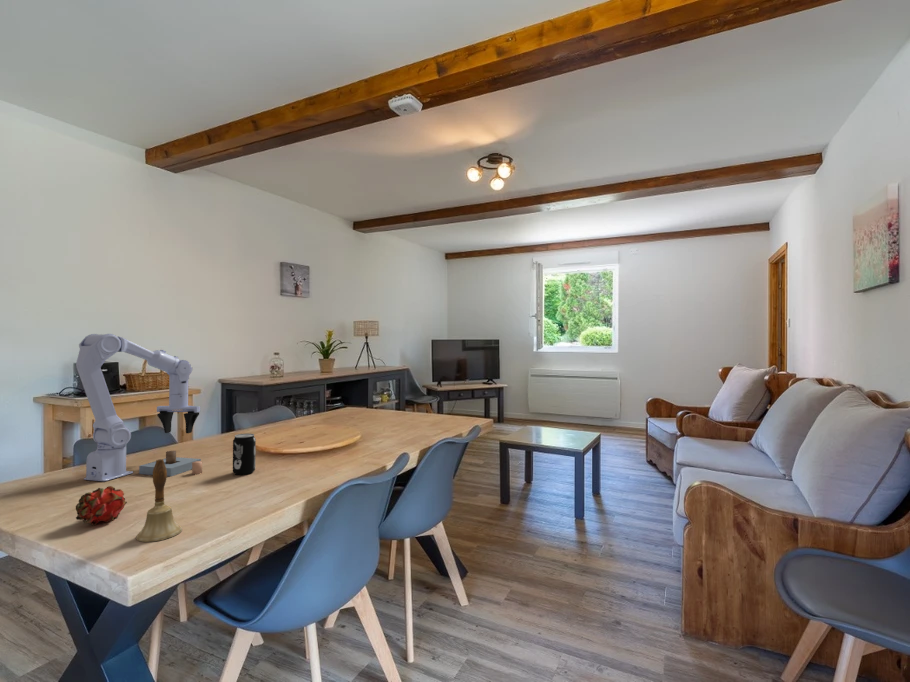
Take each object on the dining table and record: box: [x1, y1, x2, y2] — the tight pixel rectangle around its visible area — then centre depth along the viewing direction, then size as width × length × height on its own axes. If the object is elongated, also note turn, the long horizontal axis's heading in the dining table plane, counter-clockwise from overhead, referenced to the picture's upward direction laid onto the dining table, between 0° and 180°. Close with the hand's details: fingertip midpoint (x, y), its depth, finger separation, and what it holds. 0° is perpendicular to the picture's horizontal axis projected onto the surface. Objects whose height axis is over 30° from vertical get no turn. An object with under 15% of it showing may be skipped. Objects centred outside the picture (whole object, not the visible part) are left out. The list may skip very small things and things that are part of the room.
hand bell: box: [135, 458, 183, 543], centre depth 98 cm, size 8×8×16 cm
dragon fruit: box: [75, 485, 128, 526], centre depth 105 cm, size 8×8×12 cm
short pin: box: [191, 460, 203, 475], centre depth 144 cm, size 3×3×4 cm
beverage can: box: [232, 433, 257, 476], centre depth 145 cm, size 7×7×12 cm
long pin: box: [165, 450, 177, 464], centre depth 147 cm, size 3×3×6 cm
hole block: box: [138, 456, 202, 477], centre depth 147 cm, size 12×12×2 cm
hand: (178, 432), depth 159 cm, fingers open, 7 cm apart
